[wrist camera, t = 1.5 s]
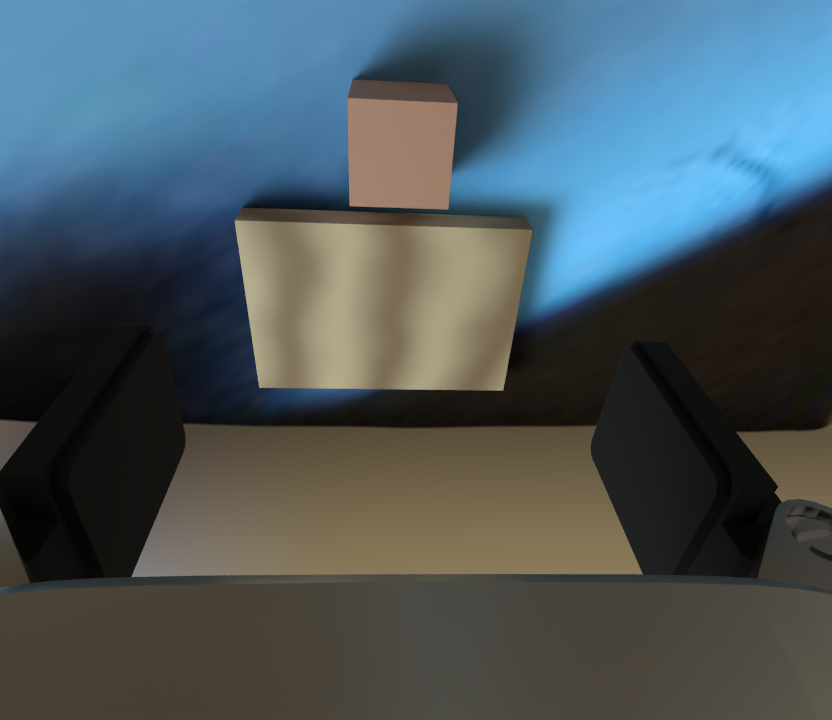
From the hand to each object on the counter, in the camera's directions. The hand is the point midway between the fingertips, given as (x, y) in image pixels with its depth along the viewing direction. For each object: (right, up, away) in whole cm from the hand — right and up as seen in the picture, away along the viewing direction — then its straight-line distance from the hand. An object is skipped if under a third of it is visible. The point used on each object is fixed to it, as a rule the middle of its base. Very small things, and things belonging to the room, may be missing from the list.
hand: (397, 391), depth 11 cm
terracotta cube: (-1, +13, +19) cm, 23 cm away
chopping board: (-2, +5, +25) cm, 25 cm away
